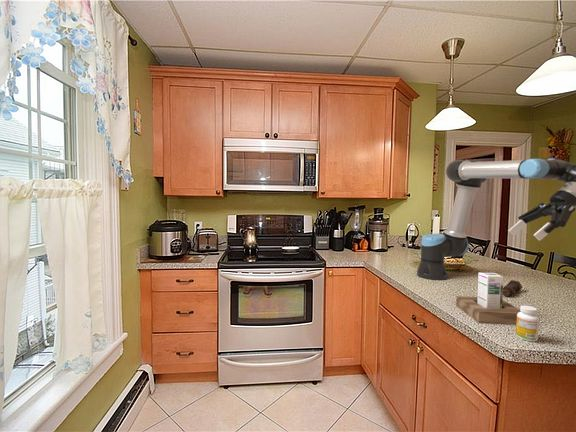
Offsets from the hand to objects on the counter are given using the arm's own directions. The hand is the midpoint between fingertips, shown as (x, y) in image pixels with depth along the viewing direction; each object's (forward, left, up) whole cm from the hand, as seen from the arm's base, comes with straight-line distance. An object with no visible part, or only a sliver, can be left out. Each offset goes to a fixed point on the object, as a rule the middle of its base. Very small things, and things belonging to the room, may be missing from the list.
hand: (522, 235), depth 111 cm
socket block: (+5, -14, -30) cm, 33 cm away
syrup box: (+5, -13, -29) cm, 32 cm away
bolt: (-22, +11, -30) cm, 39 cm away
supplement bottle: (+23, -13, -30) cm, 40 cm away
